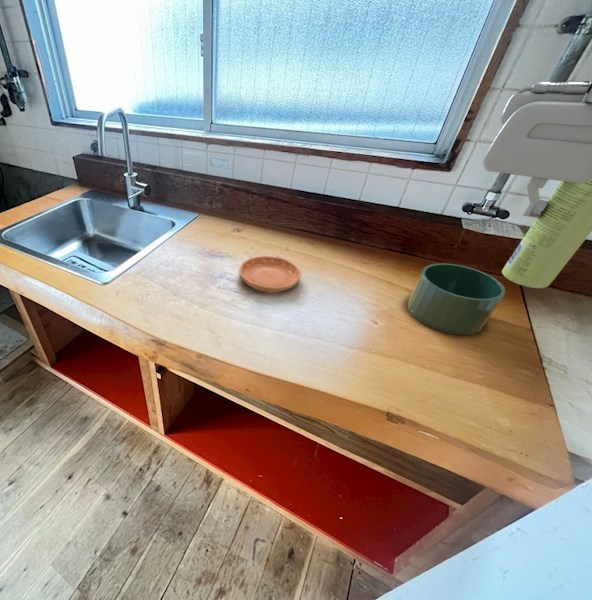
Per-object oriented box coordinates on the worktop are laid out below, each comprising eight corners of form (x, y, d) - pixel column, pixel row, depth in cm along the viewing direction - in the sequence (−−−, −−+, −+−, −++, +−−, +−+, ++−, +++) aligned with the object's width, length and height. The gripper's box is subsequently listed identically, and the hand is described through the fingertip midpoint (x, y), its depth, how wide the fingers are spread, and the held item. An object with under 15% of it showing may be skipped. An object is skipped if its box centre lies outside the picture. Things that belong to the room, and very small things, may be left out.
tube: (562, 284, 42) (698, 111, 30) (544, 296, 40) (682, 117, 28) (510, 265, 46) (612, 106, 34) (492, 275, 44) (593, 111, 32)
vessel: (489, 312, 72) (511, 279, 67) (473, 344, 64) (497, 309, 59) (419, 288, 81) (433, 257, 75) (398, 314, 73) (412, 281, 68)
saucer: (311, 281, 85) (313, 271, 83) (270, 304, 78) (272, 294, 76) (266, 259, 96) (267, 250, 94) (226, 277, 88) (226, 268, 86)
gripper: (512, 82, 34) (454, 208, 42) (895, 84, 22) (709, 260, 30) (522, 79, 38) (466, 196, 46) (858, 78, 25) (700, 238, 34)
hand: (565, 222), depth 38 cm, fingers closed on tube, 5 cm apart
